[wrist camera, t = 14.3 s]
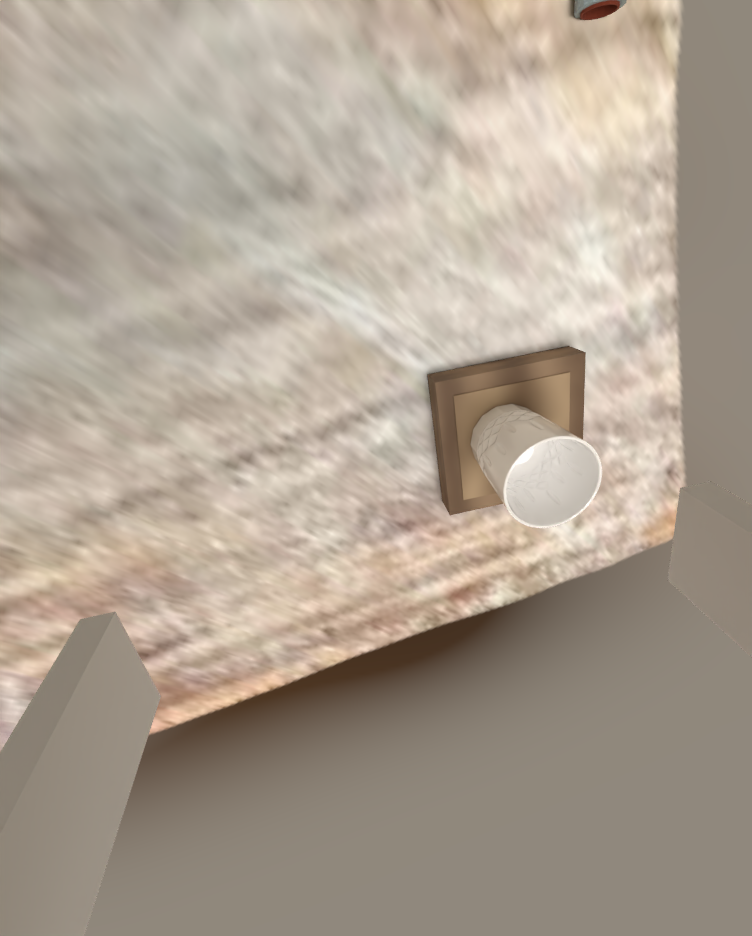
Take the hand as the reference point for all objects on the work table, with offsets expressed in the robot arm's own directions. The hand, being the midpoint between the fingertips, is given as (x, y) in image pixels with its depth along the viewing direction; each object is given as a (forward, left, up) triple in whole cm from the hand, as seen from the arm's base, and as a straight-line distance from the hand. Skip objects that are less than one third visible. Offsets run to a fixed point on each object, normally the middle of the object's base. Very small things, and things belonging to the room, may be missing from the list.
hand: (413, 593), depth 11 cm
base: (+15, -12, -35) cm, 40 cm away
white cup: (+14, -12, -32) cm, 37 cm away
